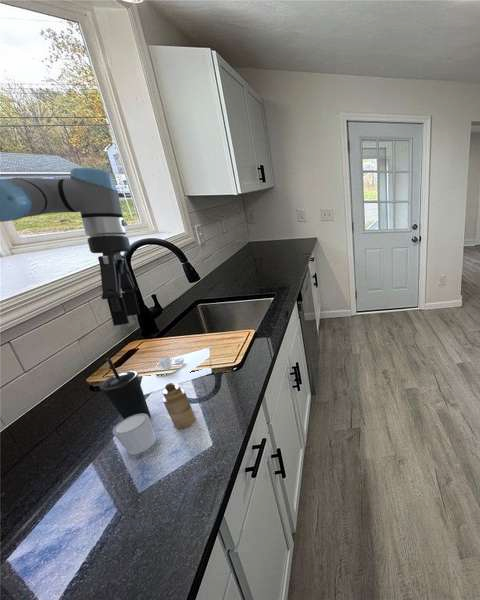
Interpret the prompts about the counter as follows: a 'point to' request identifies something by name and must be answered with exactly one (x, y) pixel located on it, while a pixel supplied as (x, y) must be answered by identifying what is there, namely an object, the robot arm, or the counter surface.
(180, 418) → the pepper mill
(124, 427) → the white short cylinder
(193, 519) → the counter surface
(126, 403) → the drinking cup
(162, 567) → the counter surface
